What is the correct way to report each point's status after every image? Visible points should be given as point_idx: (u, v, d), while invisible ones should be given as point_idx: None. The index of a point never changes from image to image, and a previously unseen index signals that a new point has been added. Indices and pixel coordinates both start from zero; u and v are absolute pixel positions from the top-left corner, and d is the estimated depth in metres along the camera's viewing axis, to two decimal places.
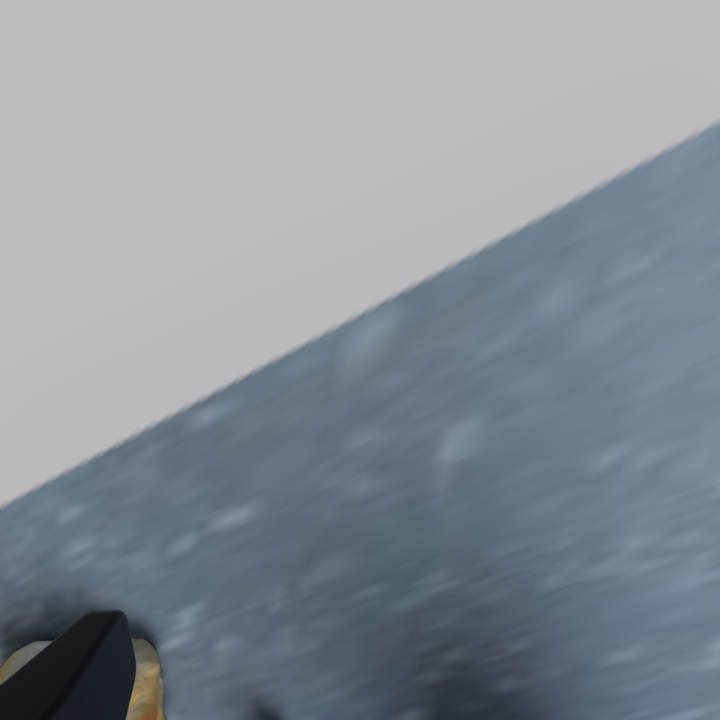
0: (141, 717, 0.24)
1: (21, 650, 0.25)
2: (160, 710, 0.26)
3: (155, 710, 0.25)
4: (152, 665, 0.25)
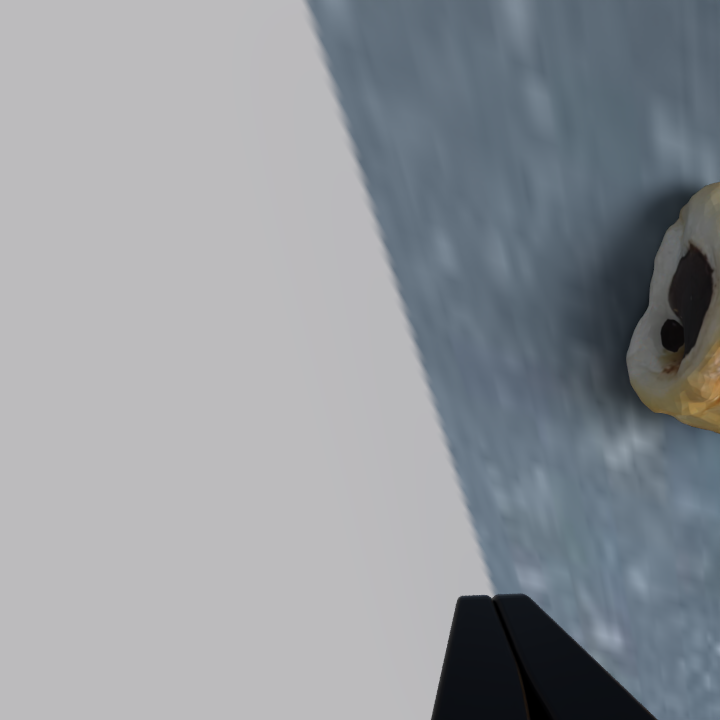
0: None
1: (629, 371, 0.17)
2: None
3: None
4: None
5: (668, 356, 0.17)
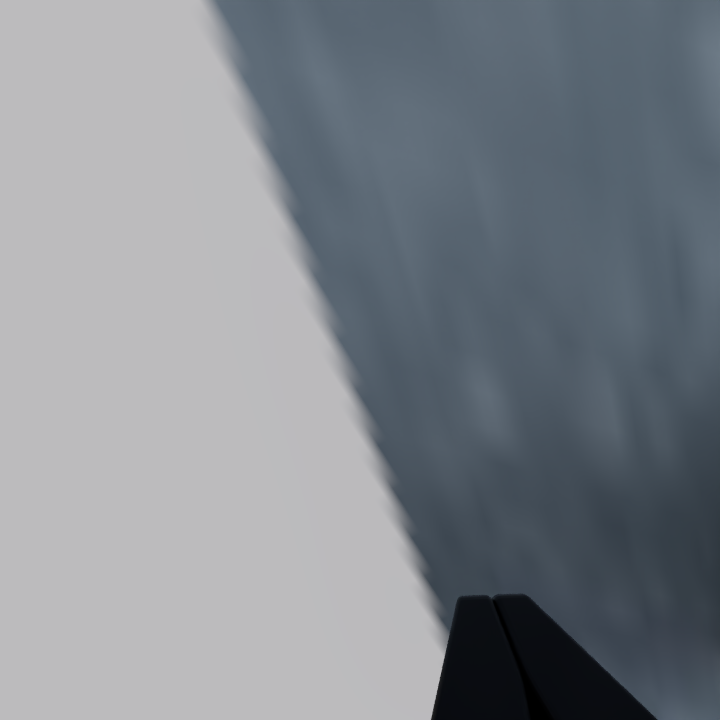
0: None
1: None
2: None
3: None
4: None
5: None
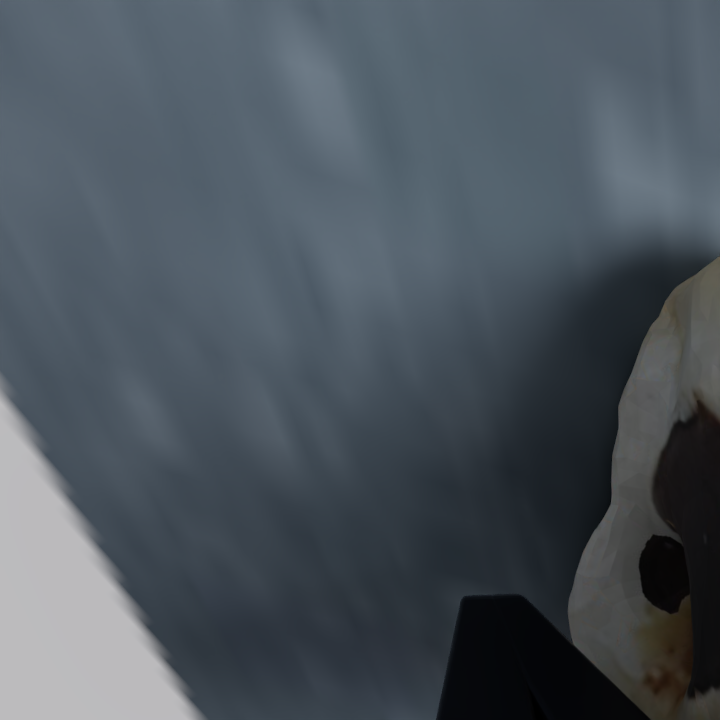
0: None
1: None
2: None
3: None
4: None
5: (655, 627, 0.07)
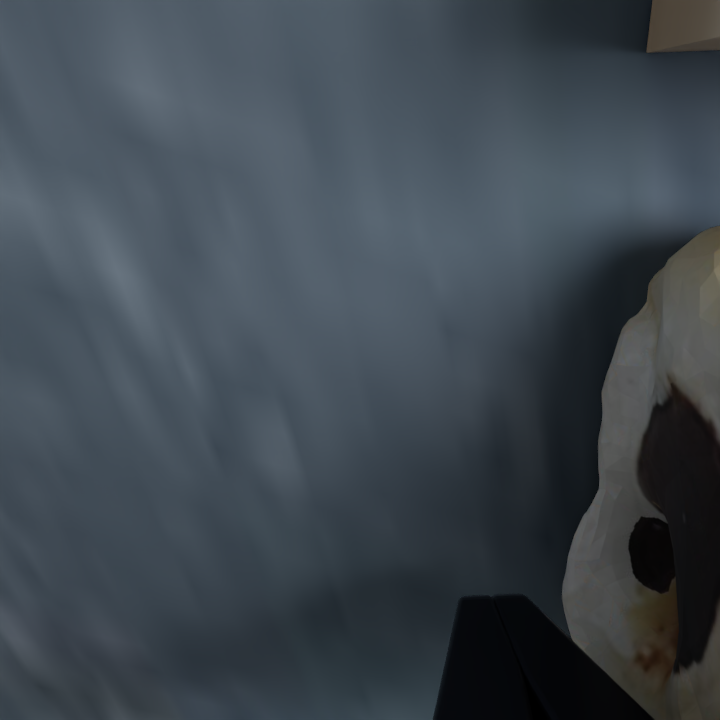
0: None
1: (569, 628, 0.08)
2: None
3: None
4: None
5: (646, 607, 0.08)
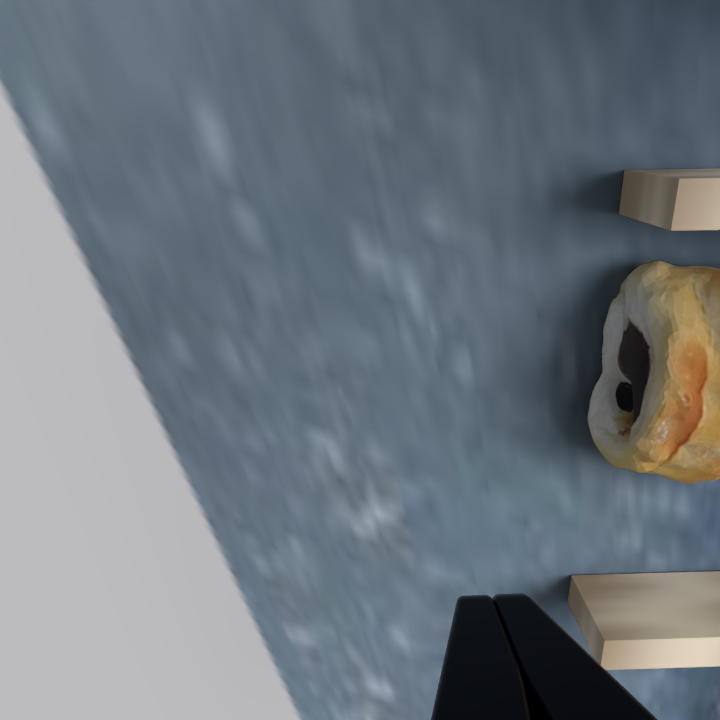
0: None
1: (591, 432, 0.19)
2: None
3: None
4: (651, 267, 0.17)
5: (623, 417, 0.19)
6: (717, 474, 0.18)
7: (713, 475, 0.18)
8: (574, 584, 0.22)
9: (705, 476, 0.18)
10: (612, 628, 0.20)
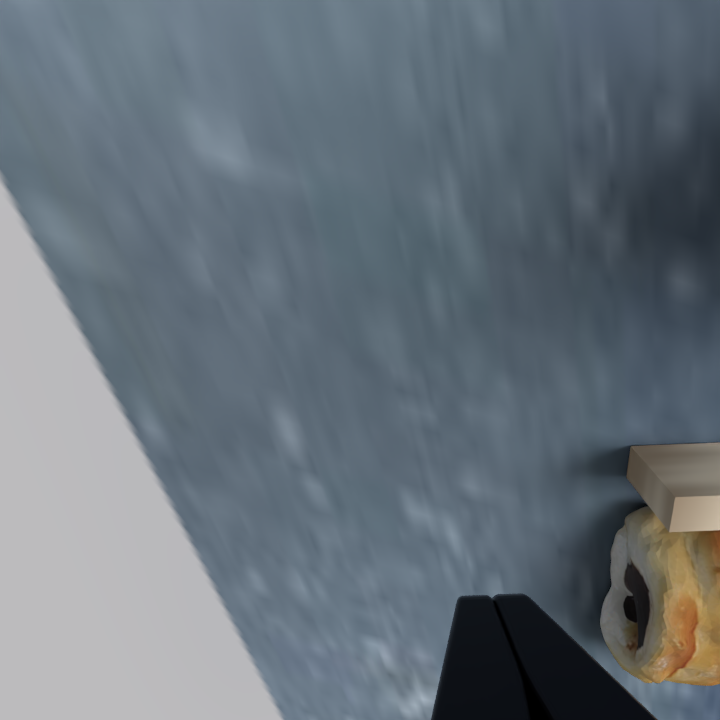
0: (709, 549, 0.19)
1: (603, 636, 0.22)
2: None
3: None
4: (649, 519, 0.20)
5: (630, 628, 0.22)
6: (711, 685, 0.21)
7: (708, 685, 0.21)
8: None
9: None
10: None
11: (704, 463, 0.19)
